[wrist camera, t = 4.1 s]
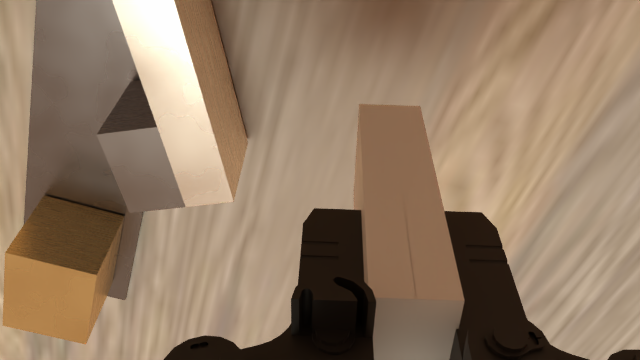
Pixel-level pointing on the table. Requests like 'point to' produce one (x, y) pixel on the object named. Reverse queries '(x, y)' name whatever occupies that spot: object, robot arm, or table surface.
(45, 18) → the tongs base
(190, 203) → the jaw
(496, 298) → the robot arm
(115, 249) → the block
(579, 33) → the table surface
